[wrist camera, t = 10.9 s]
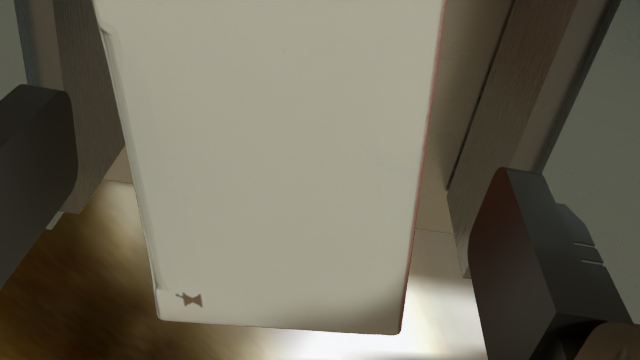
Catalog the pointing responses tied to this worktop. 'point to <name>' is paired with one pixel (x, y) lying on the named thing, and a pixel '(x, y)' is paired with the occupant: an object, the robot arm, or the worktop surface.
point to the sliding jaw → (564, 125)
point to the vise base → (104, 122)
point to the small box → (276, 153)
